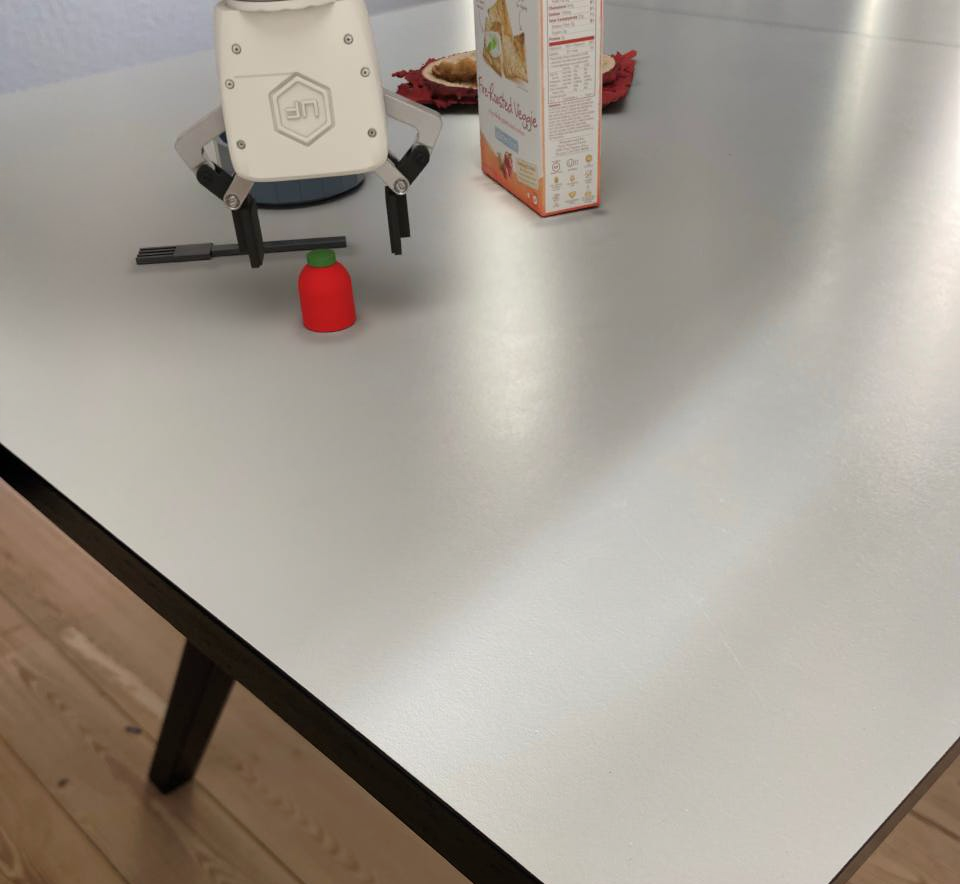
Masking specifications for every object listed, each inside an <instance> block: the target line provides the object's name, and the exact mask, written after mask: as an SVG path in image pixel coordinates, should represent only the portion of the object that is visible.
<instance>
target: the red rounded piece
mask: <svg viewBox="0 0 960 884" xmlns="http://www.w3.org/2000/svg"><path fill="white" fill-rule="evenodd" d="M353 289H354V288H353V281H352V278H351V275H350V273H349V271H348V270H347V268H346V267H345V266H344V265H343V264H342V263H341V262H339V261H338V260H337V257H336V252H335V250H333V249H332V248H320V249H311V250H309V251H308V252H307V253H306V264H305V265H304V266H303V267H302V269H301V271H300V273H299V275H298V279H297V291H298V299H299V304H300V312H301V316H302V317H301V318H302V322H303V323H302V325H303V326H304V327H305V328H306V329H307V330H310V331H313V332H318V333H330V332H336V331H342V330H345V329H347V328H349V327H351V326H352V325H354V324H355V323H356V320H357V315H356V307H355V306H356V305H355V298H354V290H353Z"/></svg>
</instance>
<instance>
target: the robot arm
mask: <svg viewBox="0 0 960 884" xmlns="http://www.w3.org/2000/svg"><path fill="white" fill-rule="evenodd" d="M213 39H214V40H213V41H214V54H215V55H214V56H215V64H216V72H217V73H216V74H217V79H218V81H217V82H218V90H219V95H220V96H219V97H220V102H221V104H218V106H217V107H215V108H214V109H212V110H211V111H209V112H208V113H206V114H205V115H204V116H203V117H202V118H201V117H200V119H198V120H197V121H196V122H195V123H193V124H192V125H191V126H189V127H187V128H186V129H184V131H182V132H181V133H179V134H178V135H177V137H176V139H175V141H174V144H173V145H174V150H175V151H176V153H177V155H179V157H180V158H181V159H182V161H183V162H184V163H185V165H186V166H187V167H188V169H189V170H190V171H191V172H192V173H193V175H195V177H196V181H197V182H198V184H200V185H201V186H202V187H203V188H205V189H206V190H208V191H209V192H210V193H211V194H212V195H214V196H215V197H217V198H218V199H219V200H221V201H222V202H223V204H224V206H225V207H226V208H227V209H228V210H230V211H231V212H230V213H231V216H232V217H231V218H232V221H233V227H234V230H235V236H236V241H237V244H238V246H239V250H240V252H248V253H249V254H248V258H249V263H250V268H251V269H259V268H260V267H261V266H263V264H264V263H263V262H264V259H265V258H264V257H265V253H266V252H265V249H264V243H263V242H264V238H263V234H262V227H261V222H260V217H259V212H258V207H257V203H256V201H255V198H252V194H250V192H249V191H250V190H251V188H252V186H253V185H254V183H255V182H274V181H287V180H298V179H310V178H321V177H332V176H342V175H352V174H360V173H365V174H367V173H370V172H373V173H374V174H375V175H376V176H377V177H378V178H379V179H380V180H381V181H382V182H383V183H384V184H385V185H384V198H385V207H386V216H387V217H386V219H387V226H388V235H389V242H390V251H391V252H390V253H391V254H394V256H402V255H403V251H402V250H403V249H402V248H403V247H402V239H404V238H411V237H412V236H411V228H410V227H411V226H410V218H409V207H408V198H407V194H408V192H409V190H410V188H411V185H412V184H413V183H414V182H415V181H416V179H417V178H418V177H419V175H420V174H421V173H422V172H423V171H424V169H425V168H426V167H427V166H428V164H429V163H430V160H431V155H432V153H433V150H434V149H435V146H436V144H437V141H438V138H439V136H440V134H441V132H442V128H443V124H444V123H443V118H442V115H441V113H440V112H438V111H437V110H434V109H432V108H430V107H428V106H427V105H426V106H425V105H424V104H422V103H420V104H419V103H417V102H414V101H412V100H410V99H408V98H405V97H403V96H401V95H399V94H397V93H395V92H394V91H393V90H390V89H388V88H385V87H383V79H382V76H381V70H380V64H379V63H380V62H379V57H378V51H377V46H376V40H375V36H374V32H373V26H372V23H371V19H370V14H369V12H368V7H367V5H366V1H365V0H219V1H218V2H217V3H216V4H215V5H214V6H213ZM388 117H389V118H391V119H394V120H396V121H398V122H401V123H403V124H405V125H407V126H409V127H412V128H414V129H415V130H416V131H417V132H416V135H415V138H414V141H413V143H412V145H410V147H409V148H408V150H407V151H406V152H405V153H404V154H403V156H402V157H401V158H398V156H396V154H394V153H393V151H391V150H390V148H389V147H390V145H389V126H388V125H389V124H388ZM224 131H226V136H227V142H228V148H229V153H230V158H231V161H232V165H233V168H234V170H235V171H234V173H233V175H232V176H231V175H229V174H228V173H227V172H226V171H224V170H223V169H222V168H220V167H219V166H218V164H217V163H215V162H214V160H213V161H212V160H211V158H210V157H209V156H208V153H207V152H206V150H205V148H204V147H205V146H206V145H208V144H209V143H210V142H213V139H215V138H216V137H217V136H219V135H220V134H222V133H223V132H224Z"/></svg>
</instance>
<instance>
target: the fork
mask: <svg viewBox="0 0 960 884" xmlns="http://www.w3.org/2000/svg"><path fill="white" fill-rule="evenodd" d="M263 243H264V249H265V253H279V252H290V251H305V250H316V249H332V248H333V249H334V248H346V247H347V236H346V235H337V236H336V235H335V236H323V237H308V238H296V239H281V240H268V241H263ZM138 249H139V250H138V252H137V254H136V257H135V262H136V265H145V264H146V265H147V264H160V263H174V262H176V263H177V262H189V261H204V260H211V259H212V257H220V256H221V257H222V256H233V255H234V256H236V255H249V253H248V252H240V250H239V246H238V243H229V244H227V243H226V244H214V242H205V243H204V242H203V243H191V244H176V245H165V246H163V245H162V246H150V247H149V246H148V247H140V248H138Z"/></svg>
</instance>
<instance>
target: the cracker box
mask: <svg viewBox="0 0 960 884" xmlns="http://www.w3.org/2000/svg"><path fill="white" fill-rule="evenodd" d="M604 1H605V0H472V2H473V4H472V5H473V24H474V43H475V44H474V45H475V50H476V67H477V86H478V94H477V98H478V103H477V105H478V122H479V124H478V126H479V145H480V146H479V147H480V163H481V164H480V165H481V171H482V172H484V173H485V174H487V175H488V176H489V177H490V178H492V179H493V180H495V182H497V183H498V184H500V185H501V186H502V187H503V188H504V189H506V190H507V191H509V192H510V193H511V194H513V195H514V196H515V197H517V198H518V199H519V200H521V201H522V202H523V203H524V204H526V205H527V206H529V208H531V209H532V210H533V211H535V212H536V213H538V214H539V215H540V216H541V217H548V216H554V215H558V214H562V213H567V212H572V211H577V210H581V209H586V208H592V207H596V206H600V204H601V165H602V164H601V161H602V116H603V115H602V113H603V112H602V111H603V110H602V109H603V108H602V64H603V54H604V48H603V47H604V8H605V7H604V6H605V5H604V3H605V2H604Z"/></svg>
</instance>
